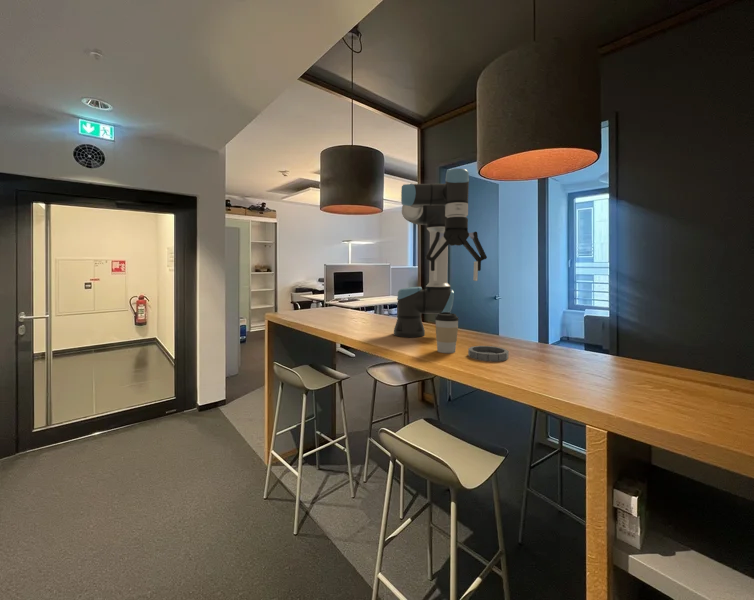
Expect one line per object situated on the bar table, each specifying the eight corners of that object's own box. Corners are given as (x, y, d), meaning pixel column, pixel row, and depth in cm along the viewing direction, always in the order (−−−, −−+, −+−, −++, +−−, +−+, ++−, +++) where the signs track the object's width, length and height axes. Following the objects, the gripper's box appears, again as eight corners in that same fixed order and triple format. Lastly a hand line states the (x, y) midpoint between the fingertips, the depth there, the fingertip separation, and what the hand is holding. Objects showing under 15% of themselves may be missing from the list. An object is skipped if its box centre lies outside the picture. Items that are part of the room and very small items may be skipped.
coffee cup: (460, 353, 132) (461, 314, 131) (436, 353, 132) (436, 314, 131) (455, 348, 141) (456, 311, 140) (433, 348, 141) (433, 311, 140)
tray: (465, 352, 135) (465, 345, 135) (501, 352, 134) (501, 346, 134) (473, 361, 121) (473, 354, 121) (513, 361, 121) (513, 354, 121)
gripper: (420, 216, 114) (419, 281, 116) (497, 215, 113) (495, 281, 115) (418, 219, 122) (417, 280, 123) (490, 218, 120) (489, 280, 122)
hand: (455, 280), depth 119 cm, fingers open, 13 cm apart
